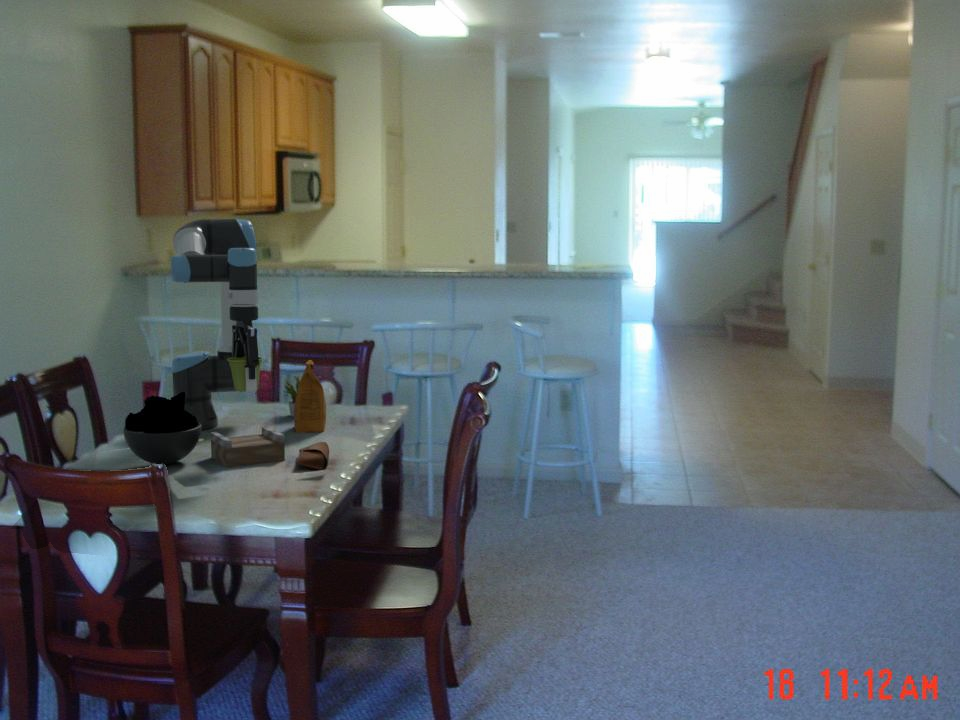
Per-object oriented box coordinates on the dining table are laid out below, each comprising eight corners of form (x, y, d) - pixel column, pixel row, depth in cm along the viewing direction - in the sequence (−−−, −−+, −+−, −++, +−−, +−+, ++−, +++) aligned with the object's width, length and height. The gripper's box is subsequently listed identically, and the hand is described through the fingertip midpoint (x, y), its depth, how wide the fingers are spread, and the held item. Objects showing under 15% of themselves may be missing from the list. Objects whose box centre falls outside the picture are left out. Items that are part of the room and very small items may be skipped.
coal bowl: (130, 475, 258) (127, 402, 256) (119, 459, 276) (116, 391, 274) (210, 467, 267) (207, 396, 265) (194, 452, 285) (192, 386, 283)
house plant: (325, 416, 343) (324, 368, 341) (325, 423, 329) (324, 373, 327) (282, 417, 341) (281, 369, 339) (280, 424, 327) (279, 374, 325)
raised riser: (211, 457, 279) (210, 432, 278) (267, 451, 287) (266, 426, 286) (226, 467, 267) (226, 441, 266) (284, 460, 275) (284, 435, 274)
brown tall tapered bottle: (327, 427, 323) (325, 358, 320) (326, 434, 310) (325, 363, 308) (295, 428, 321) (293, 359, 319) (293, 435, 309) (291, 364, 307)
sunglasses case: (297, 448, 280) (313, 431, 280) (316, 465, 282) (332, 447, 282) (294, 463, 263) (312, 443, 263) (315, 480, 264) (332, 461, 264)
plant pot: (255, 393, 269) (254, 360, 268) (222, 392, 271) (221, 360, 270) (269, 388, 279) (268, 356, 278) (237, 387, 280) (236, 356, 279)
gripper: (218, 303, 279) (220, 385, 282) (242, 308, 261) (245, 395, 264) (244, 302, 283) (247, 383, 286) (270, 307, 265) (272, 393, 268)
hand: (246, 389), depth 275 cm, fingers closed on plant pot, 8 cm apart
